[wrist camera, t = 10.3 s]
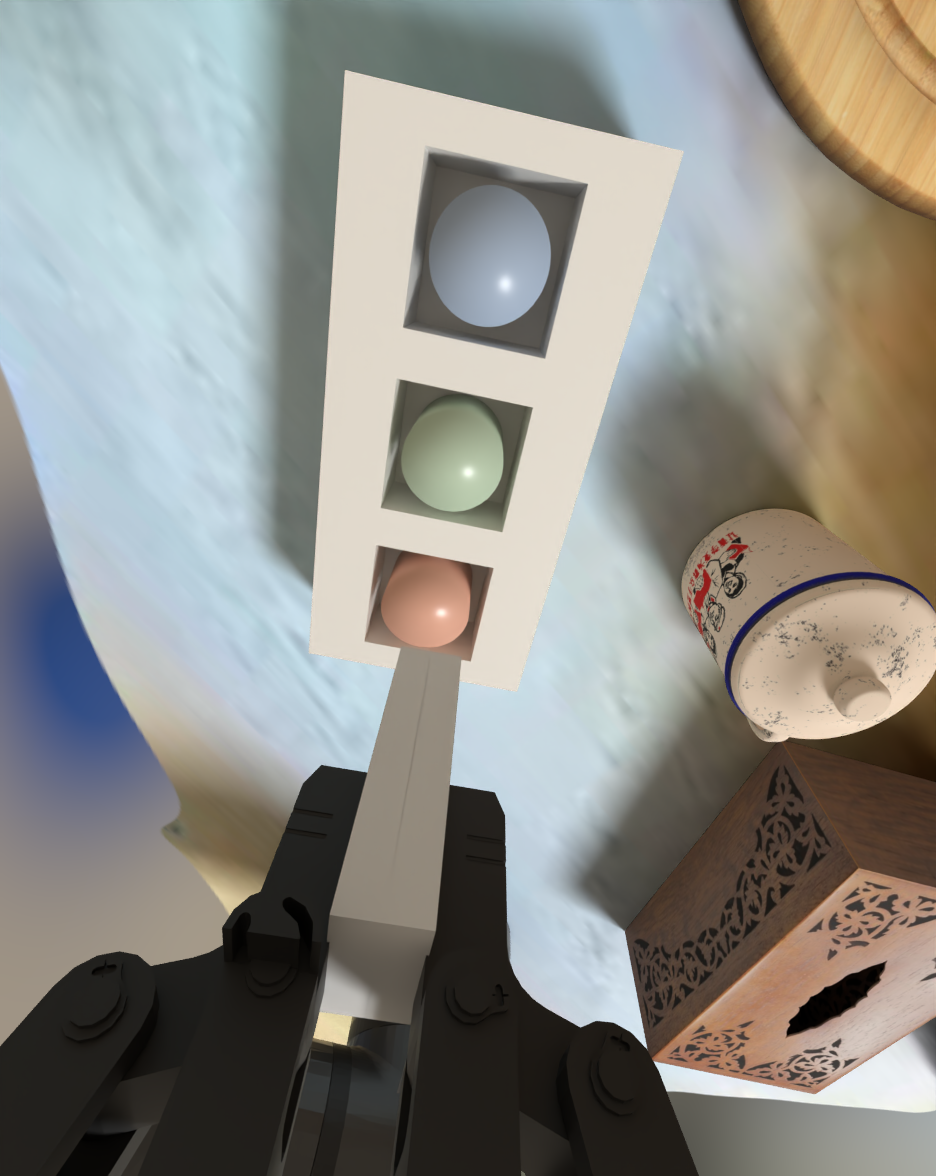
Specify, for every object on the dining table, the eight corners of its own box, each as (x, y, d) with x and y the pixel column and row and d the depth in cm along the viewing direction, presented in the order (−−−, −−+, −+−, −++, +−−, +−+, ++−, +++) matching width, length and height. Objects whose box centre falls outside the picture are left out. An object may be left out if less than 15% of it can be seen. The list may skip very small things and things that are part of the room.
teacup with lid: (689, 501, 31) (784, 611, 20) (858, 501, 30) (1040, 614, 20) (657, 672, 36) (718, 824, 26) (798, 675, 36) (915, 830, 26)
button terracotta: (464, 615, 33) (460, 654, 30) (389, 600, 33) (376, 638, 30) (479, 548, 31) (476, 582, 28) (399, 532, 31) (386, 564, 27)
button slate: (528, 330, 25) (533, 338, 22) (431, 308, 25) (420, 313, 22) (555, 212, 23) (565, 200, 20) (448, 188, 23) (439, 171, 19)
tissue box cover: (763, 960, 53) (815, 1094, 44) (624, 928, 51) (649, 1060, 43) (954, 785, 40) (1079, 924, 32) (778, 736, 39) (858, 868, 30)
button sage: (492, 491, 29) (491, 520, 26) (407, 474, 29) (395, 500, 26) (512, 404, 27) (513, 422, 24) (420, 384, 27) (408, 400, 23)
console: (514, 641, 36) (516, 691, 31) (332, 606, 35) (309, 653, 31) (650, 175, 24) (683, 151, 19) (374, 110, 23) (345, 70, 19)
